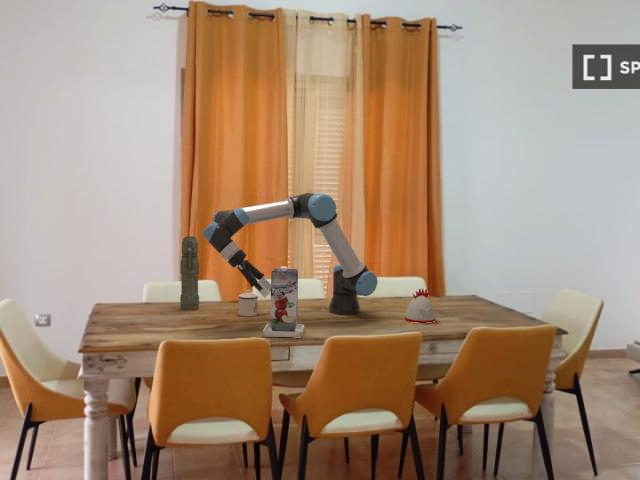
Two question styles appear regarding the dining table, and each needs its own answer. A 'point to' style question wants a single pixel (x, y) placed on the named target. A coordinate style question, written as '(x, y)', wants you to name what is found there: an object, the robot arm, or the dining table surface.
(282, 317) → the juice carton
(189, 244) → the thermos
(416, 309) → the grey dome with crest
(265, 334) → the carton tray
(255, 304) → the teacup with lid
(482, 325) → the dining table surface
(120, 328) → the dining table surface
